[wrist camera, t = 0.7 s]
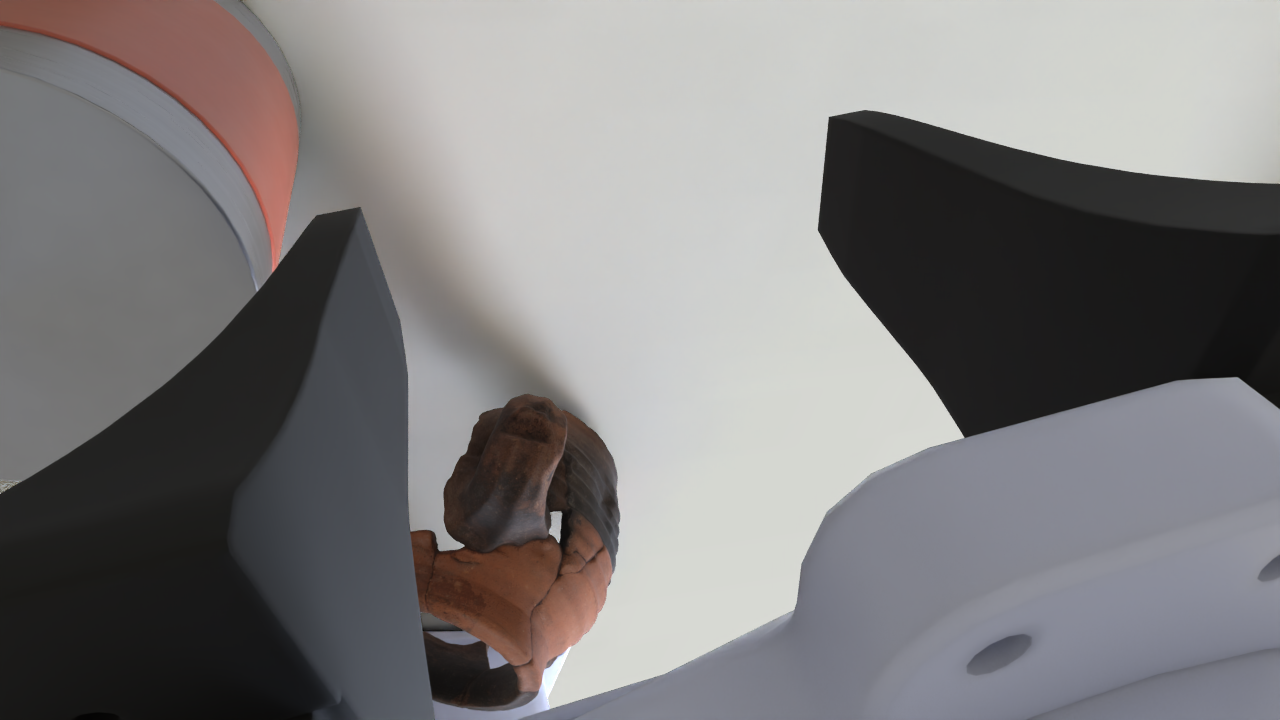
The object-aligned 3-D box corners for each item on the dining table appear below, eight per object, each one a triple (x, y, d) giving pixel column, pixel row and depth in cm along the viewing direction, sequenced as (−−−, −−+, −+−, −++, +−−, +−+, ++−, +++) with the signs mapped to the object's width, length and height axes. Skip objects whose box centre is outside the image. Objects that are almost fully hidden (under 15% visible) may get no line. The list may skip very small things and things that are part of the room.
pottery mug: (612, 550, 32) (554, 754, 26) (398, 481, 32) (291, 668, 26) (688, 355, 24) (626, 591, 18) (397, 260, 24) (240, 465, 18)
